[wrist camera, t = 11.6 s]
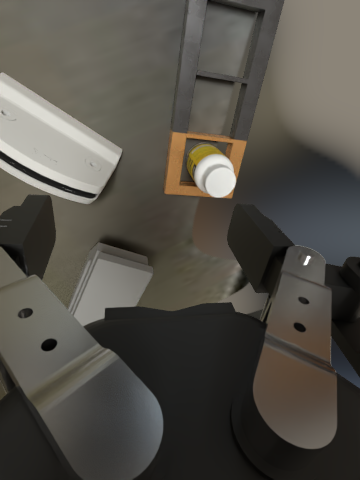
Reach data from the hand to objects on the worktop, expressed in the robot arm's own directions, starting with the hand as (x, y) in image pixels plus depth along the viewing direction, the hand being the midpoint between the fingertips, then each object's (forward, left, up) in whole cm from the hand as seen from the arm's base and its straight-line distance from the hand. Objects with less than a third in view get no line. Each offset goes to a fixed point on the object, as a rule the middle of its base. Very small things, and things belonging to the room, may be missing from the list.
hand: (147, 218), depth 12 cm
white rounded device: (+4, -10, -30) cm, 32 cm away
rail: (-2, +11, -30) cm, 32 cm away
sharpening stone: (+29, -4, -30) cm, 42 cm away
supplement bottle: (+5, +11, -30) cm, 32 cm away
